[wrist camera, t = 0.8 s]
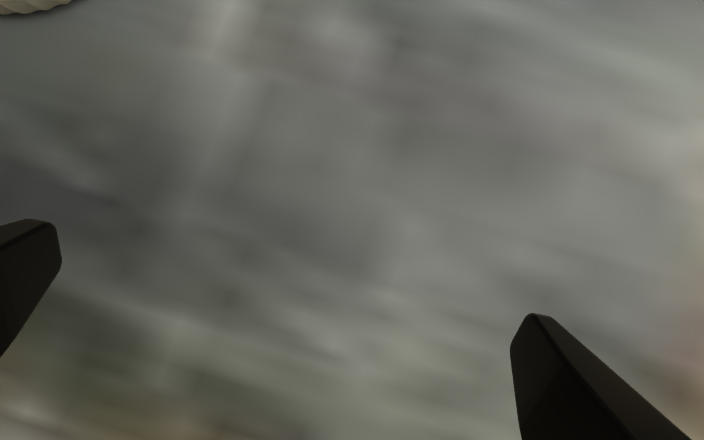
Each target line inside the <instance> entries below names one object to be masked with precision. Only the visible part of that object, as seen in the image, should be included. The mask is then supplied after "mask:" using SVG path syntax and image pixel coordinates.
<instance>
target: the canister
mask: <svg viewBox="0 0 704 440" xmlns="http://www.w3.org/2000/svg"><path fill="white" fill-rule="evenodd" d="M70 1H71V0H0V14H3V15H5V14H11V13H14V12H16V13H21V14H29V13H32V12H34V11H37V10H50V9H52V8H53V7H54V6H57V5H61V4H68V3H69V2H70Z"/></svg>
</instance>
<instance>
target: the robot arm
mask: <svg viewBox="0 0 704 440" xmlns="http://www.w3.org/2000/svg"><path fill="white" fill-rule="evenodd" d="M61 264H62V257H61V251H60V246H59V241H58V236H57V231H56V228H55V226H54V225H53V224H51V223H50V222H45V221H40V220H35V219H24V220H20V221H17V222H13V223H10V224H6V225H2V226H0V357H1V356H2V355H3V354H4V352H5V351H6V350H7V348H8V347H9V346H10V344H11V343H12V342H13V340H14V339H15V338H16V336H17V335H18V333H19V332H20V330H21V329H22V327H23V326H24V324H25V323H26V321H27V320H28V318H29V317H30V315H31V314H32V312H33V311H34V309H35V307H36V306H37V304H38V303H39V301H40V300H41V298H42V297H43V295H44V294H45V292H46V291H47V289H48V287H49V286H50V284H51V283H52V281H53V280H54V278H55V277H56V275H57V274H58V272H59V270H60V267H61ZM510 359H511V367H512V375H513V383H514V391H515V399H516V407H517V415H518V421H519V428H520V433H521V437H522V440H692V439H691V438H689V437H688V436H687V435H686V434H685V433H684V432H683V431H681V430H680V429H679V428H678V427H677V426H676V425H675V424H673V423H672V422H671V421H670V420H669V419H668V418H667V417H665V416H664V415H663V414H662V413H661V412H660V411H659V410H657V409H656V408H655V407H654V406H653V405H652V404H651V403H649V402H648V401H647V400H646V399H645V398H644V397H643V396H641V395H640V394H639V393H638V392H637V391H636V390H634V389H633V388H632V387H631V386H630V385H629V384H628V383H626V382H625V381H624V380H623V379H622V378H621V377H620V376H618V375H617V374H616V373H615V372H614V371H613V370H612V369H610V368H609V367H608V366H607V365H606V364H605V363H604V362H602V361H601V360H600V359H599V358H598V357H597V356H596V355H594V354H593V353H592V352H591V351H590V350H589V349H588V348H586V347H585V346H584V345H583V344H582V343H581V342H580V341H578V340H577V339H576V338H575V337H574V336H573V335H572V334H570V333H569V332H568V331H567V330H566V329H565V328H564V327H562V326H561V325H560V324H559V323H558V322H557V321H556V320H554V319H553V318H552V317H550V316H546V315H541V314H535V313H530V314H528V315H527V316H526V317H525V318H524V320H523V322H522V324H521V326H520V327H519V329H518V331H517V333H516V335H515V336H514V338H513V340H512V342H511V346H510Z"/></svg>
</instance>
